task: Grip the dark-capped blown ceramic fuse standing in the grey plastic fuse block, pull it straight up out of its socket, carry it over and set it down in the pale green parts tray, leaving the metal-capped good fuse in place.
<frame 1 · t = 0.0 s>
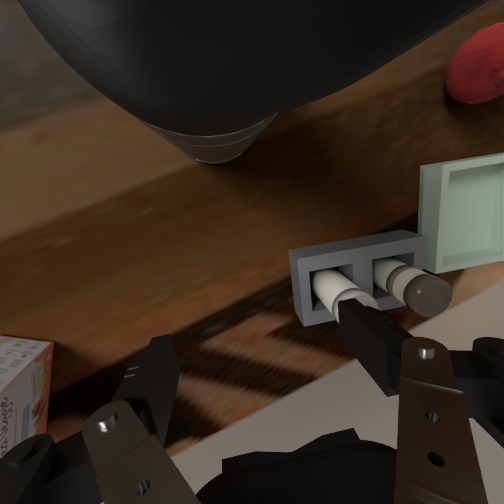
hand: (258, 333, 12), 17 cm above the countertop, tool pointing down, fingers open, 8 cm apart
parts tray: (456, 211, 31), on the countertop
good fuse: (319, 276, 31), resting in fuse block
cracker box: (28, 385, 30), on the countertop
onion: (449, 81, 27), on the countertop
fuse block: (347, 271, 31), on the countertop
blown fuse: (374, 265, 31), resting in fuse block
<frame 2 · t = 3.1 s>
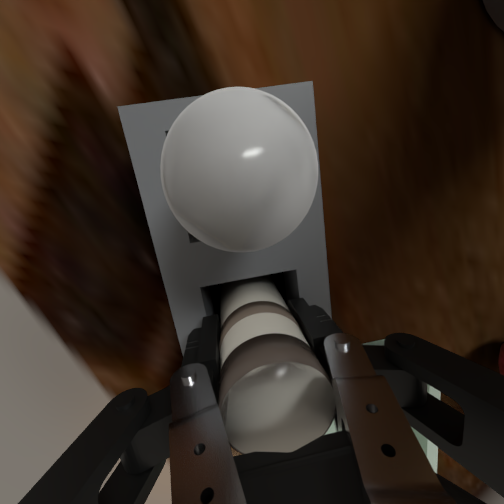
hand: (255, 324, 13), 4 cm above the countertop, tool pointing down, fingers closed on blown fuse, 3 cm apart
parts tray: (334, 406, 19), on the countertop
good fuse: (230, 183, 15), resting in fuse block
onion: (500, 345, 20), on the countertop
fuse block: (240, 241, 16), on the countertop
blown fuse: (248, 294, 16), resting in fuse block, touching gripper
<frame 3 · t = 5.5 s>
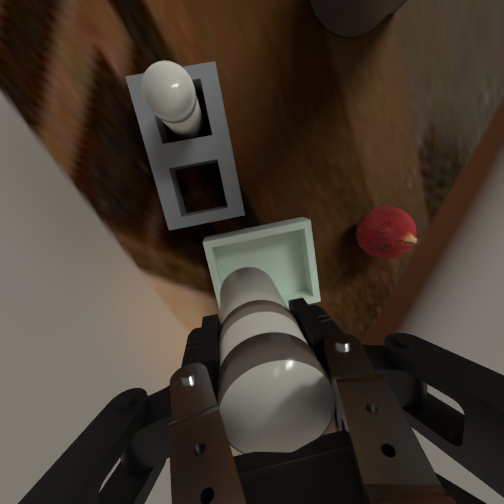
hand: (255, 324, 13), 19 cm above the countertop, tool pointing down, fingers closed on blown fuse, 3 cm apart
parts tray: (261, 265, 32), on the countertop
good fuse: (186, 121, 27), resting in fuse block
onion: (365, 227, 32), on the countertop
fuse block: (194, 155, 28), on the countertop
blown fuse: (248, 293, 16), point 15 cm above the countertop, touching gripper
when the fingers open (6 cm above the countertop, at t = 8.0 s): blown fuse drops 2 cm, resting on parts tray.
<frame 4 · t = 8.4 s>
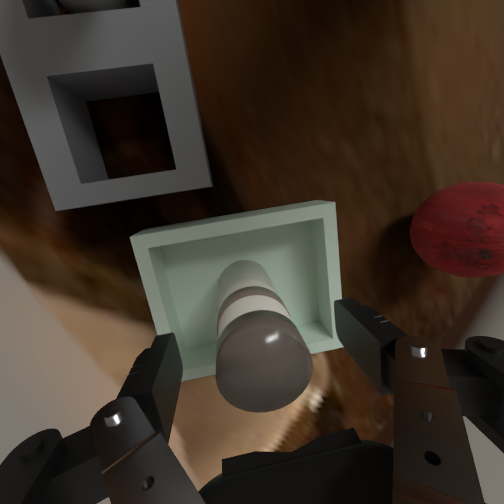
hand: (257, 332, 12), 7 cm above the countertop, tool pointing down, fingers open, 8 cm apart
parts tray: (244, 280, 19), on the countertop
good fuse: (104, 3, 14), resting in fuse block
onion: (419, 222, 20), on the countertop
fuse block: (122, 75, 15), on the countertop
blown fuse: (244, 283, 18), point 1 cm above the countertop, touching parts tray
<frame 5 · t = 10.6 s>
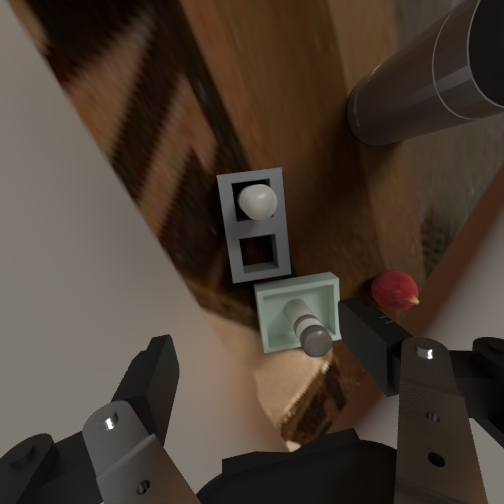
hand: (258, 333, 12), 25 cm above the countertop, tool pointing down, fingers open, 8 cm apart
parts tray: (295, 307, 40), on the countertop
good fuse: (249, 199, 35), resting in fuse block
onion: (377, 280, 41), on the countertop
fuse block: (252, 224, 36), on the countertop
blown fuse: (295, 309, 39), point 1 cm above the countertop, touching parts tray
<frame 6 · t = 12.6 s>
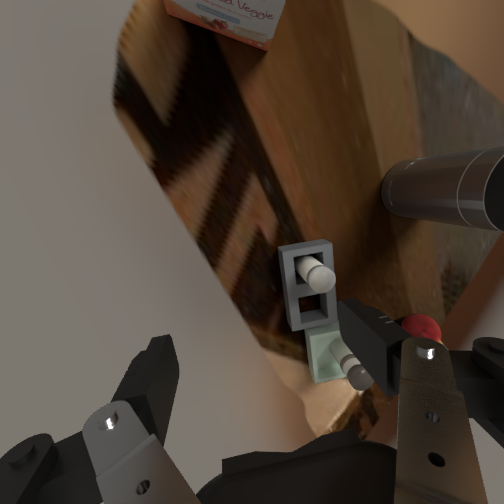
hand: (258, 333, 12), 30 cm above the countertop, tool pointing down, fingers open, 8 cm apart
parts tray: (337, 344, 49), on the countertop
good fuse: (302, 262, 44), resting in fuse block
cracker box: (224, 14, 34), on the countertop
onion: (405, 319, 49), on the countertop
fuse block: (304, 281, 45), on the countertop
blown fuse: (338, 346, 48), point 1 cm above the countertop, touching parts tray
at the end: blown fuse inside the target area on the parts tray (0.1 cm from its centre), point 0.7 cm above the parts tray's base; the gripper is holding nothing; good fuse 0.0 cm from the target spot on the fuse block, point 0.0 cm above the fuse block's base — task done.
